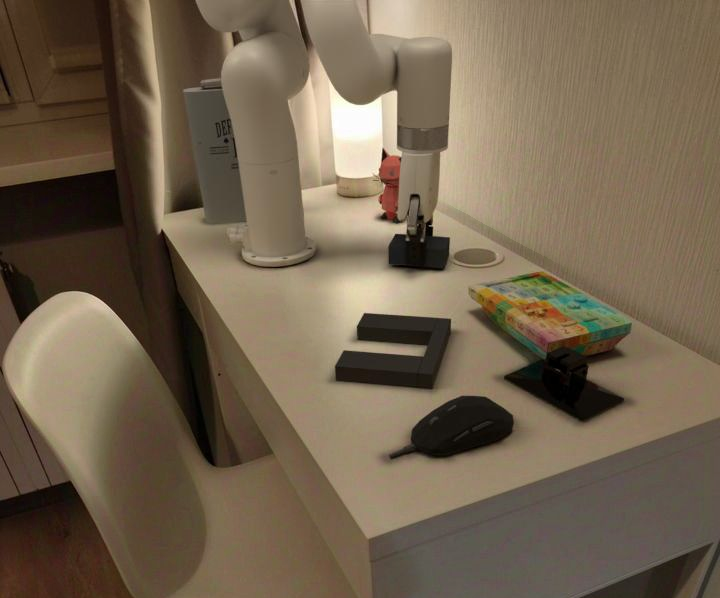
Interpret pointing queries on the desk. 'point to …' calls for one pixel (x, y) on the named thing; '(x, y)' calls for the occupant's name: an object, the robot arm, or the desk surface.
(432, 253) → the slate block
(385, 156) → the cat figurine
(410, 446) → the gaming mouse
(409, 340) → the charcoal u-shaped block
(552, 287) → the puzzle game
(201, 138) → the flask
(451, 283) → the desk surface
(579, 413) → the build plate
